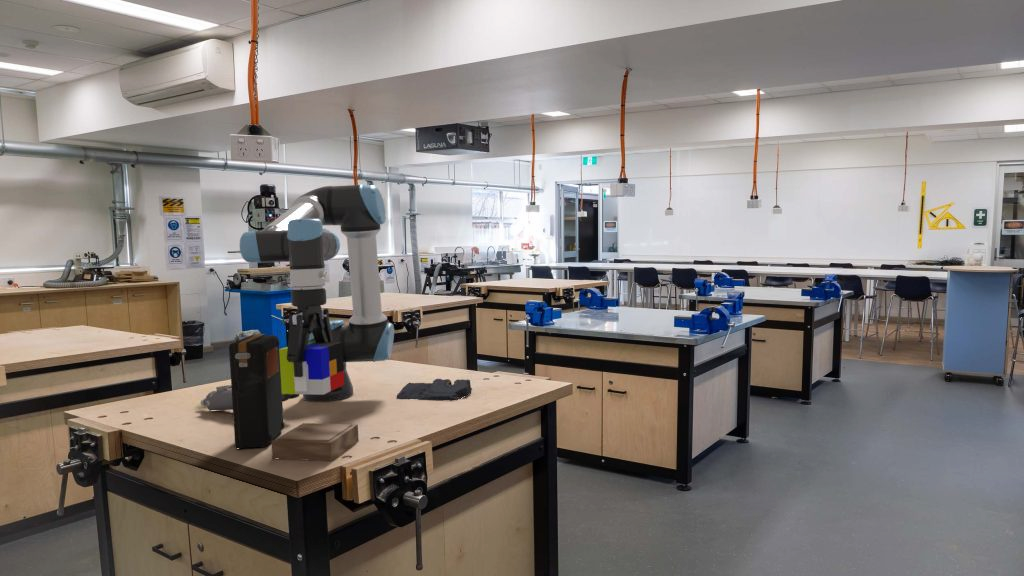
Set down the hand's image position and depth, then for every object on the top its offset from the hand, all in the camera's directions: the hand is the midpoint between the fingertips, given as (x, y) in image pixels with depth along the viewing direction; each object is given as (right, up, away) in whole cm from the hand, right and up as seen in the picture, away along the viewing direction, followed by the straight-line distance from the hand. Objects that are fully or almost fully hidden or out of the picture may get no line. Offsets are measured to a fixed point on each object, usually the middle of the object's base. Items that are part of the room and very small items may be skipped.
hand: (313, 385), depth 144 cm
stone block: (-40, -12, +67) cm, 79 cm away
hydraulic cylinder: (-29, -14, +35) cm, 47 cm away
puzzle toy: (0, -1, 0) cm, 1 cm away
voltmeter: (-16, -15, +10) cm, 24 cm away
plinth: (0, -15, +1) cm, 15 cm away
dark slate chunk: (+21, -11, +52) cm, 57 cm away
